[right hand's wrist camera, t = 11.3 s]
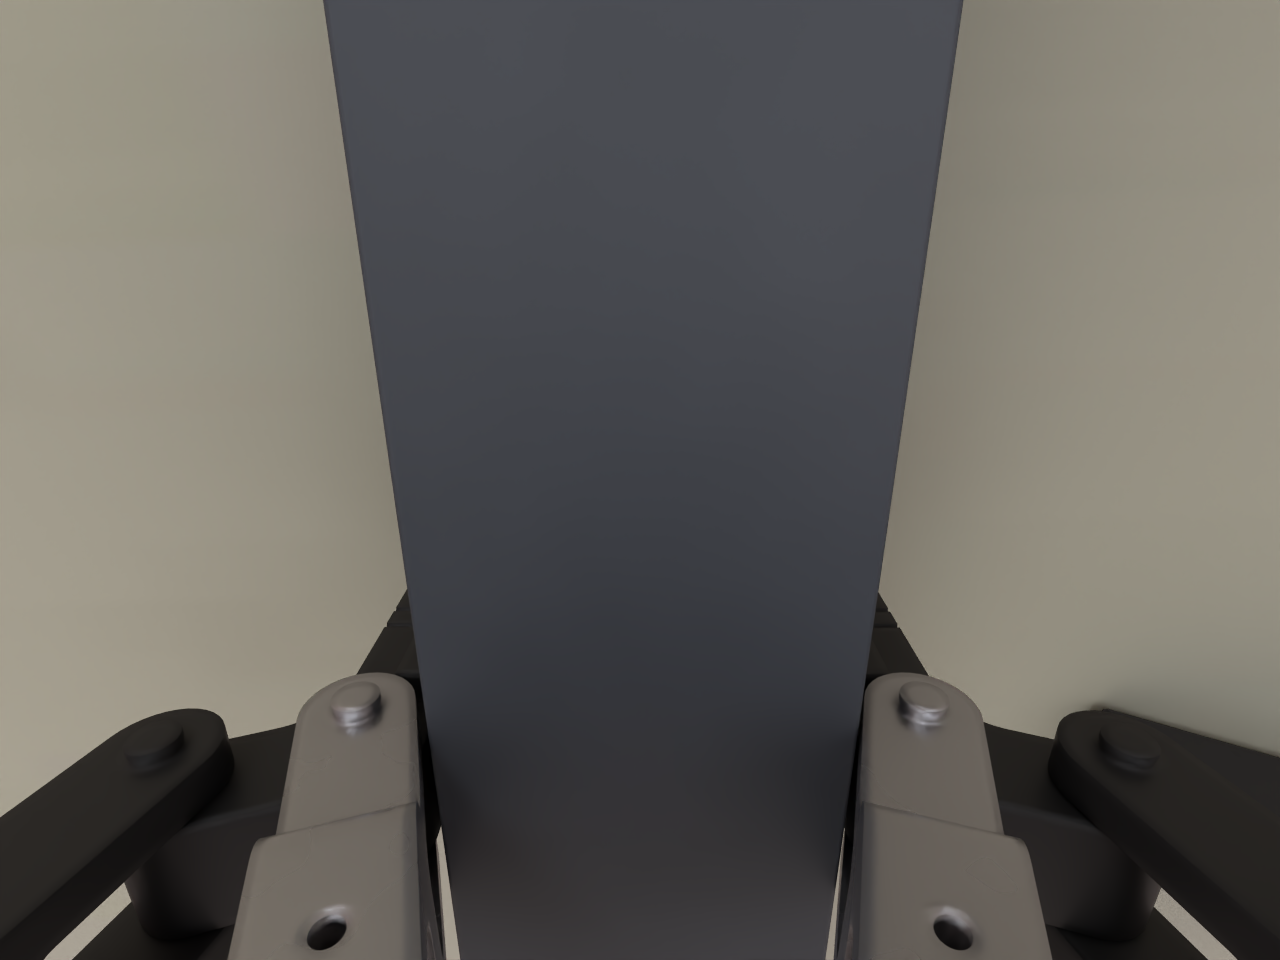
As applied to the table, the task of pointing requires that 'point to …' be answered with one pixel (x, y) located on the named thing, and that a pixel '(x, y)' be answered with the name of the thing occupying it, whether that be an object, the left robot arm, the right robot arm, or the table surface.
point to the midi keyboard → (1230, 763)
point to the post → (643, 436)
